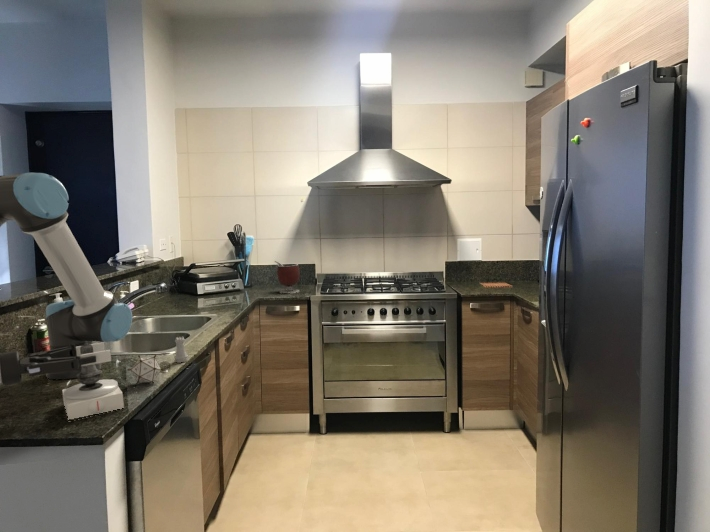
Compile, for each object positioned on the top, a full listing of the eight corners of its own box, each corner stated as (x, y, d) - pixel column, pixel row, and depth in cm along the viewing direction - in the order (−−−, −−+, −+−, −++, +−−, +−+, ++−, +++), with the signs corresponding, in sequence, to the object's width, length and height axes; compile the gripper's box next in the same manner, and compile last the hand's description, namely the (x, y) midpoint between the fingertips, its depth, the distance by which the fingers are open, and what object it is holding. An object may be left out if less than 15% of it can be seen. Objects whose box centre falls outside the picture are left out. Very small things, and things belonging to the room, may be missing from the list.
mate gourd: (303, 290, 312) (301, 259, 310) (296, 293, 298) (294, 261, 296) (280, 290, 315) (278, 259, 313) (272, 294, 301) (270, 261, 299)
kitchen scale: (63, 404, 126) (61, 385, 126) (114, 393, 133) (113, 375, 132) (68, 422, 114) (66, 401, 114) (124, 408, 121) (122, 389, 121)
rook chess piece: (176, 359, 163) (174, 336, 163) (190, 358, 164) (188, 335, 163) (172, 363, 159) (170, 339, 158) (186, 362, 159) (184, 338, 159)
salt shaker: (92, 391, 120) (87, 343, 119) (72, 391, 121) (66, 343, 120) (109, 383, 125) (104, 337, 125) (89, 383, 127) (84, 338, 126)
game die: (148, 397, 139) (135, 377, 132) (130, 383, 143) (117, 363, 136) (173, 375, 144) (162, 355, 137) (155, 362, 148) (143, 341, 141)
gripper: (3, 374, 122) (102, 356, 134) (0, 399, 104) (116, 375, 116) (-1, 345, 121) (100, 329, 134) (-4, 364, 103) (113, 345, 115)
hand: (107, 351), depth 125 cm, fingers open, 9 cm apart
